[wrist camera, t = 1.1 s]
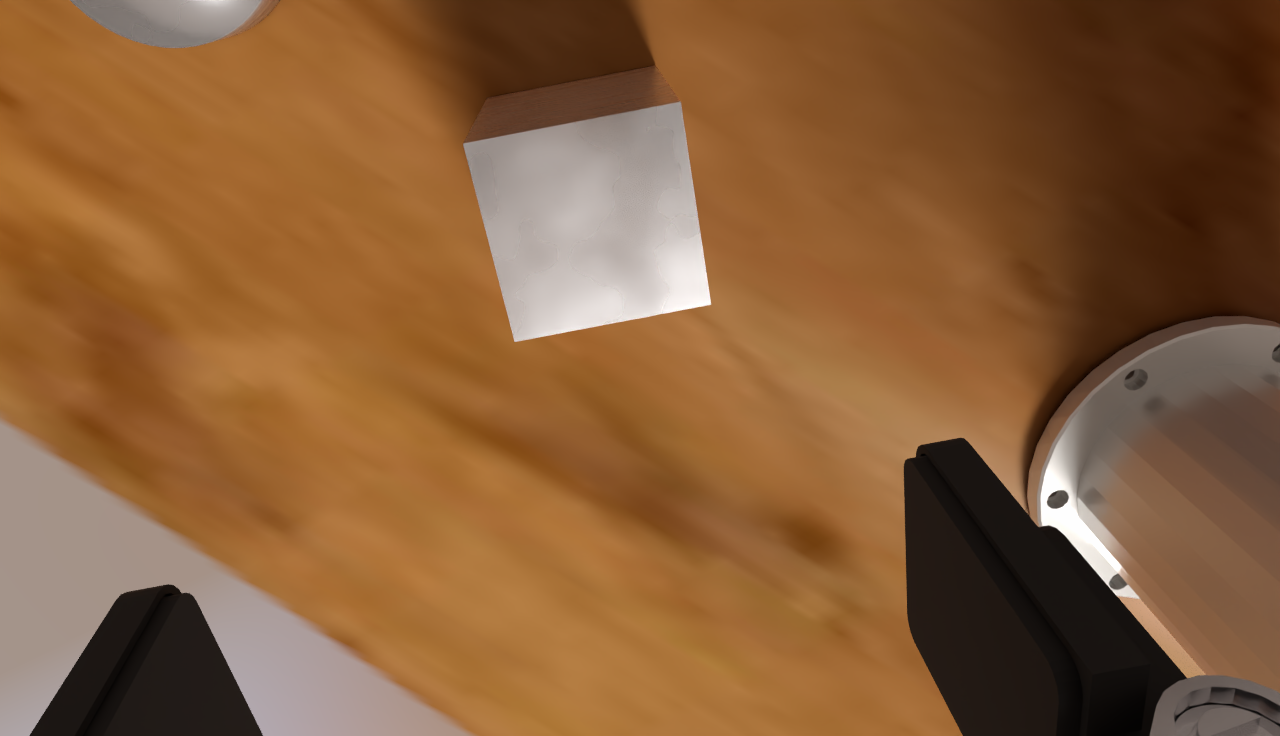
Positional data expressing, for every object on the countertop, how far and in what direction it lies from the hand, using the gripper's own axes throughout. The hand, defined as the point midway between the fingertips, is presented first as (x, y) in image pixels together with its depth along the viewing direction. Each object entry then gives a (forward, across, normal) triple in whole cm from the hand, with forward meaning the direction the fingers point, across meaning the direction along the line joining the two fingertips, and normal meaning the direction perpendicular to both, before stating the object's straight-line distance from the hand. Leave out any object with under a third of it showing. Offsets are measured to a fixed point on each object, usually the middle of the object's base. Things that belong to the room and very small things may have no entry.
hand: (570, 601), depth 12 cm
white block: (+20, -1, -1) cm, 20 cm away
